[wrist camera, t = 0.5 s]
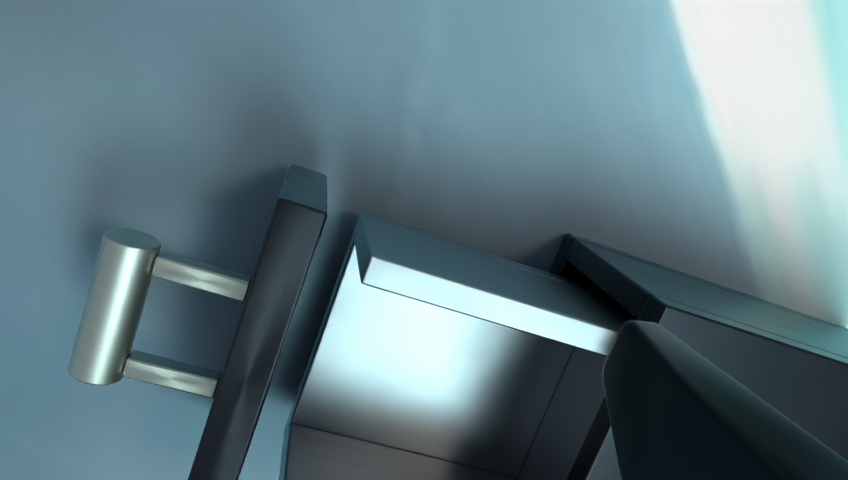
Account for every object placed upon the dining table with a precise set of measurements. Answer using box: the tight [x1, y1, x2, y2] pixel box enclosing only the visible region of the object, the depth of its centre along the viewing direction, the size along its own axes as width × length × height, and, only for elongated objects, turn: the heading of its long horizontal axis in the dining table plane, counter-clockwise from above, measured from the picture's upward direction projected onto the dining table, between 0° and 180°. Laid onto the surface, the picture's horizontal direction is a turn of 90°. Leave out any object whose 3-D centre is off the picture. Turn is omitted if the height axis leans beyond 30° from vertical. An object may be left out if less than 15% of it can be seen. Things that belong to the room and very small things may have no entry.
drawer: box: [68, 164, 639, 480], centre depth 19 cm, size 15×9×5 cm, turn 70°
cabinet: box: [550, 234, 848, 480], centre depth 22 cm, size 13×11×7 cm
